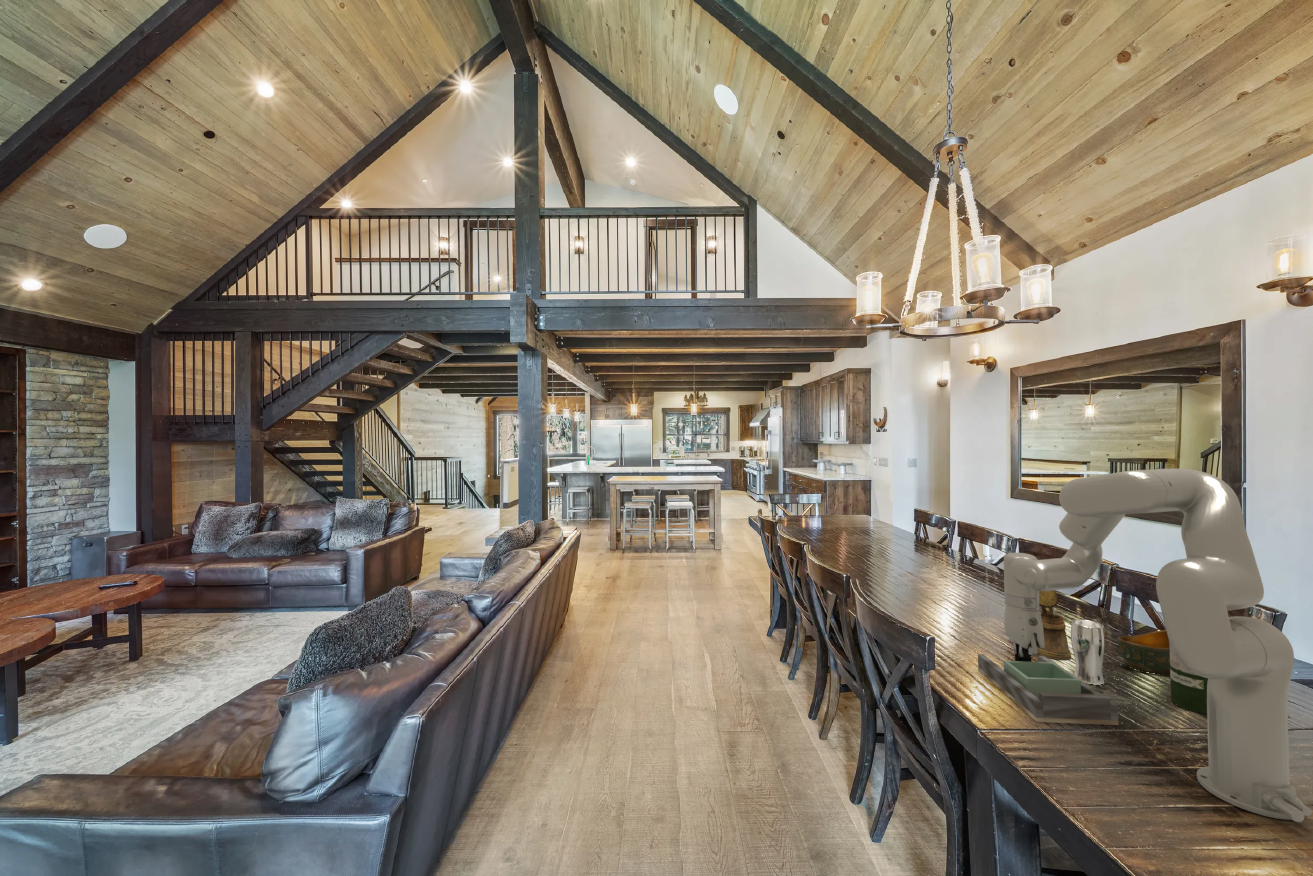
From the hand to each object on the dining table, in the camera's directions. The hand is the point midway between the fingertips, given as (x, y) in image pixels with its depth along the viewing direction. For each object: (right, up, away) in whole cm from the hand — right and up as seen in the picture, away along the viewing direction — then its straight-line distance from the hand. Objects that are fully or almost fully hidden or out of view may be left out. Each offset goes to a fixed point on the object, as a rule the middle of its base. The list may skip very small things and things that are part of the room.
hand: (1023, 669), depth 135 cm
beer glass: (+17, -3, 0) cm, 17 cm away
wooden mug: (+21, -3, +18) cm, 28 cm away
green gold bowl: (+42, -2, +5) cm, 42 cm away
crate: (-1, -2, -7) cm, 8 cm away
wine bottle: (+31, -3, -14) cm, 34 cm away
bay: (-1, -3, -7) cm, 8 cm away
